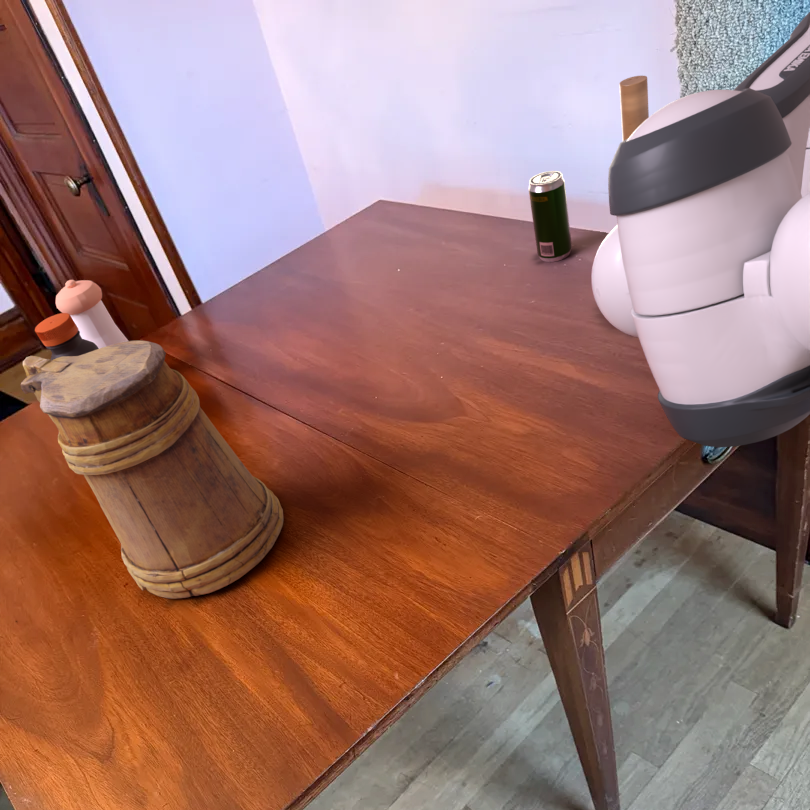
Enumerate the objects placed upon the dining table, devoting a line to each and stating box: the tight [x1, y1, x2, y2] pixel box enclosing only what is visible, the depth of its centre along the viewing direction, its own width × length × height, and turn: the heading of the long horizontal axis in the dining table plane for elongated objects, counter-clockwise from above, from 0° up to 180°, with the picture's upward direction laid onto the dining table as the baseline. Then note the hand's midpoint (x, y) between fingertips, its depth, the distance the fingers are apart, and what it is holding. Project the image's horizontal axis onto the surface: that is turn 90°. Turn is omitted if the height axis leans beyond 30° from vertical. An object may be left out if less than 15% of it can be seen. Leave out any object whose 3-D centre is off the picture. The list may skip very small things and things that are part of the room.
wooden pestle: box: [618, 75, 650, 142], centre depth 89 cm, size 4×4×17 cm
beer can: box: [528, 170, 573, 263], centre depth 115 cm, size 5×5×12 cm
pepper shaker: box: [55, 279, 129, 349], centre depth 118 cm, size 7×7×19 cm
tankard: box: [20, 340, 285, 600], centre depth 81 cm, size 18×24×25 cm
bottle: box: [34, 312, 99, 360], centre depth 105 cm, size 7×7×20 cm
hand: (629, 155), depth 89 cm, fingers closed on wooden pestle, 3 cm apart
